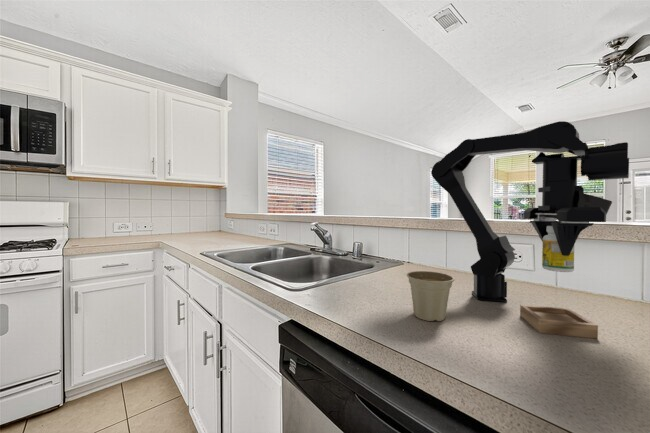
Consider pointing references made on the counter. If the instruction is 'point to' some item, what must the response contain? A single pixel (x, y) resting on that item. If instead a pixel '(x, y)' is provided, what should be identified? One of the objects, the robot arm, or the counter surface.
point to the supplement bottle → (555, 254)
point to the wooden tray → (558, 321)
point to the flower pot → (430, 294)
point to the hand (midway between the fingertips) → (557, 253)
